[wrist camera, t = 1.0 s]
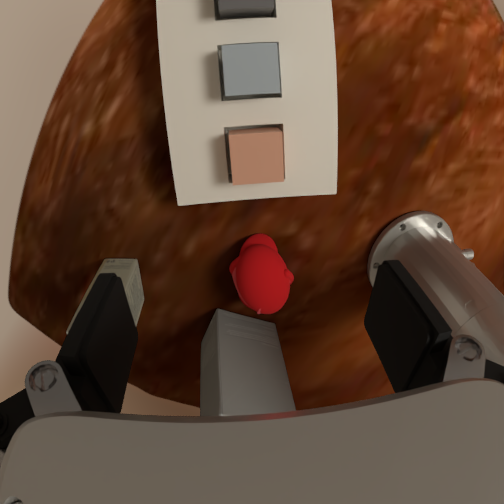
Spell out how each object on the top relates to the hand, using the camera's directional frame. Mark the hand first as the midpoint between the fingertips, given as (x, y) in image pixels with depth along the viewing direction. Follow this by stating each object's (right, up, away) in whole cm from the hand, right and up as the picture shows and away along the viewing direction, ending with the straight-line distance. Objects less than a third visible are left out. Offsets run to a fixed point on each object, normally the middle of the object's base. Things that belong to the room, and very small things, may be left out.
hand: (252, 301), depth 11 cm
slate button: (0, +16, +11) cm, 20 cm away
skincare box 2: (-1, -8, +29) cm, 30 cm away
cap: (+1, +1, +24) cm, 24 cm away
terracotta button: (0, +10, +15) cm, 18 cm away
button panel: (0, +18, +14) cm, 23 cm away
